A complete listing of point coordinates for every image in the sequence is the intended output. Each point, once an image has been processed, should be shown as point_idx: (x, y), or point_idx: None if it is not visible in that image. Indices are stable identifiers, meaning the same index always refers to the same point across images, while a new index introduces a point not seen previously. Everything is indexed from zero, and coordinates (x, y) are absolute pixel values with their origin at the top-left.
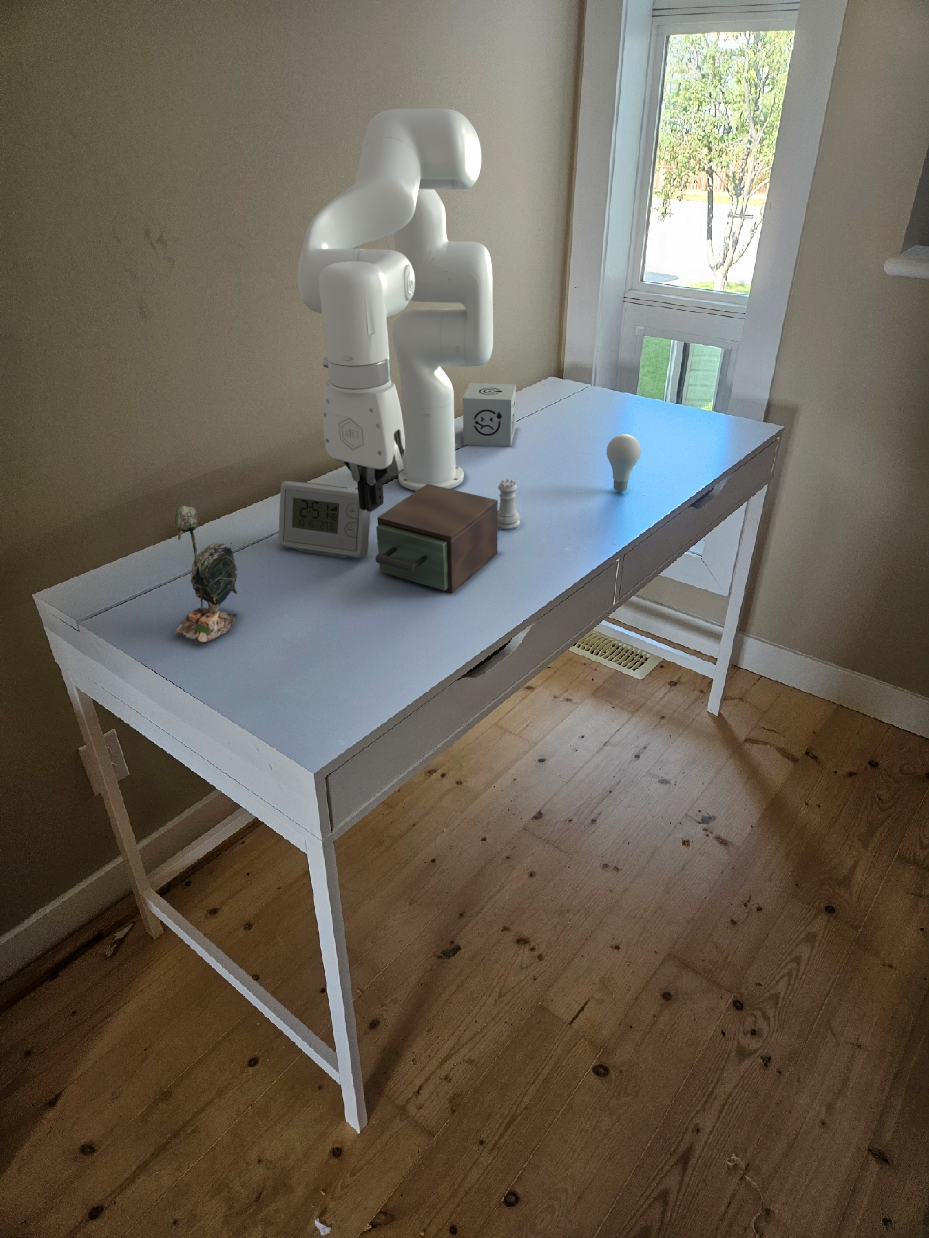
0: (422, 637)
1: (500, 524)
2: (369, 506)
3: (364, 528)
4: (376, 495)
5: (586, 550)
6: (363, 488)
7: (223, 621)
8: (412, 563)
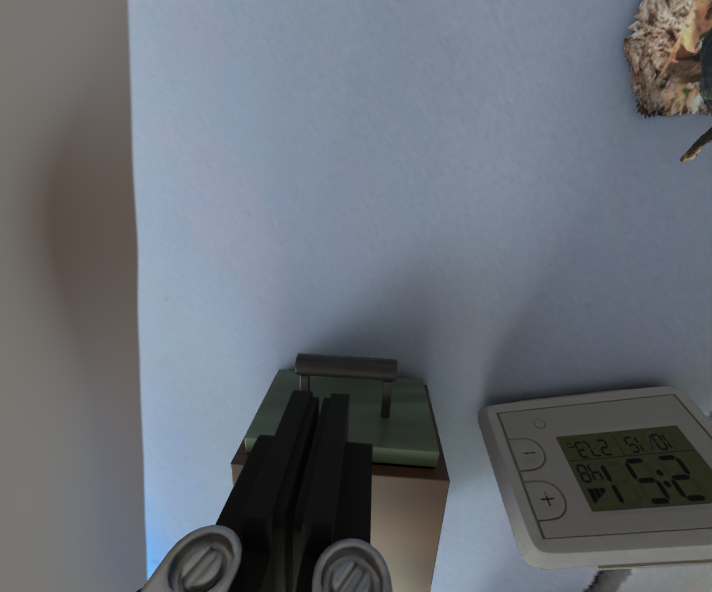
0: (237, 235)
1: None
2: (287, 408)
3: (499, 464)
4: (242, 475)
5: (176, 539)
6: (301, 496)
7: (659, 68)
8: (301, 372)
